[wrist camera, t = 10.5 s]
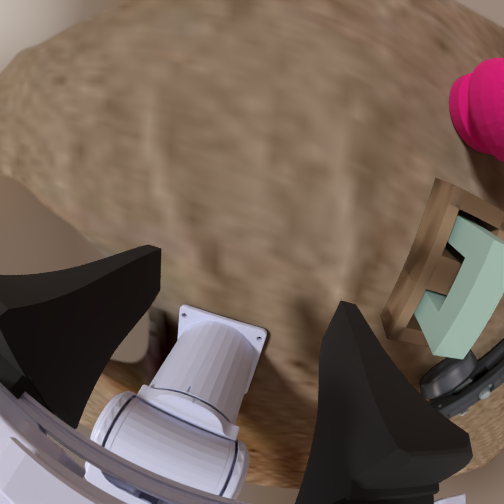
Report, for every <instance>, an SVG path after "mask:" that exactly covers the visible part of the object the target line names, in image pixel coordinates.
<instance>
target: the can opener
mask: <svg viewBox="0 0 504 504" xmlns="http://www.w3.org/2000/svg"><path fill="white" fill-rule="evenodd" d="M502 383H504V340H503V341H502V342H501V343H500V344H499V345H498V346H497V347H496V348H495V349H493V350H492V351H491V352H490V353H489V354H488V355H487V356H486V357H484V358H483V359H481V360H480V361H478V362H477V359H476V357H475V355H474V354H473V352H472V351H471V349H470V350H469V352H468V353H467V355H466V356H465V357H464V359H457V358H450V357H447V358H445V359H444V360H443V361H441V362H440V363H438V364H437V365H436V366H435V367H433V368H432V369H431V370H430V371H429V372H428V373H427V374H426V375H425V376H424V377H423V378H422V379H421V381H420V391H421V395H422V396H423V397H424V398H425V399H431V400H430V404H431V405H432V406H433V407H434V408H435V409H436V410H438V411H439V412H440V413H441V414H442V415H444V416H445V417H446V418H447V419H449V418H451V417H453V416H455V415H458V416H462V415H464V414H466V413H467V412H468V410H469V407H470V406H471V405H473V404H475V403H476V402H478V401H479V400H481V399H486V398H487V397H489V396H490V393H491V392H492V391H493V390H495V389H496V388H497V387H498V386H500V385H501V384H502Z"/></svg>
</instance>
